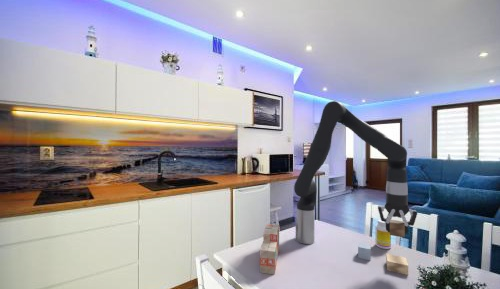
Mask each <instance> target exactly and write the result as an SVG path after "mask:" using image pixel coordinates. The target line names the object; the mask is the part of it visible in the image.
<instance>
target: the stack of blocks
mask: <svg viewBox="0 0 500 289" xmlns="http://www.w3.org/2000/svg"><path fill="white" fill-rule="evenodd" d="M263 230H264V231H263V239H262V240H263V241H262V243H261V246H260V250H259V273H261V274H262V273H263V274H269V275H270V274H271V275H275V274H276V270H277V262H278V256H279V253H280V224H270V223H266V224H265V228H264V229H263Z"/></svg>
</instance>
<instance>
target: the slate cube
mask: <svg viewBox="0 0 500 289" xmlns="http://www.w3.org/2000/svg"><path fill="white" fill-rule="evenodd" d="M371 251H372V250H371V244H368V243H362V242H358V245H357V259H363V260H366V261H371V259H372V258H371V256H372V254H371Z"/></svg>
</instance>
